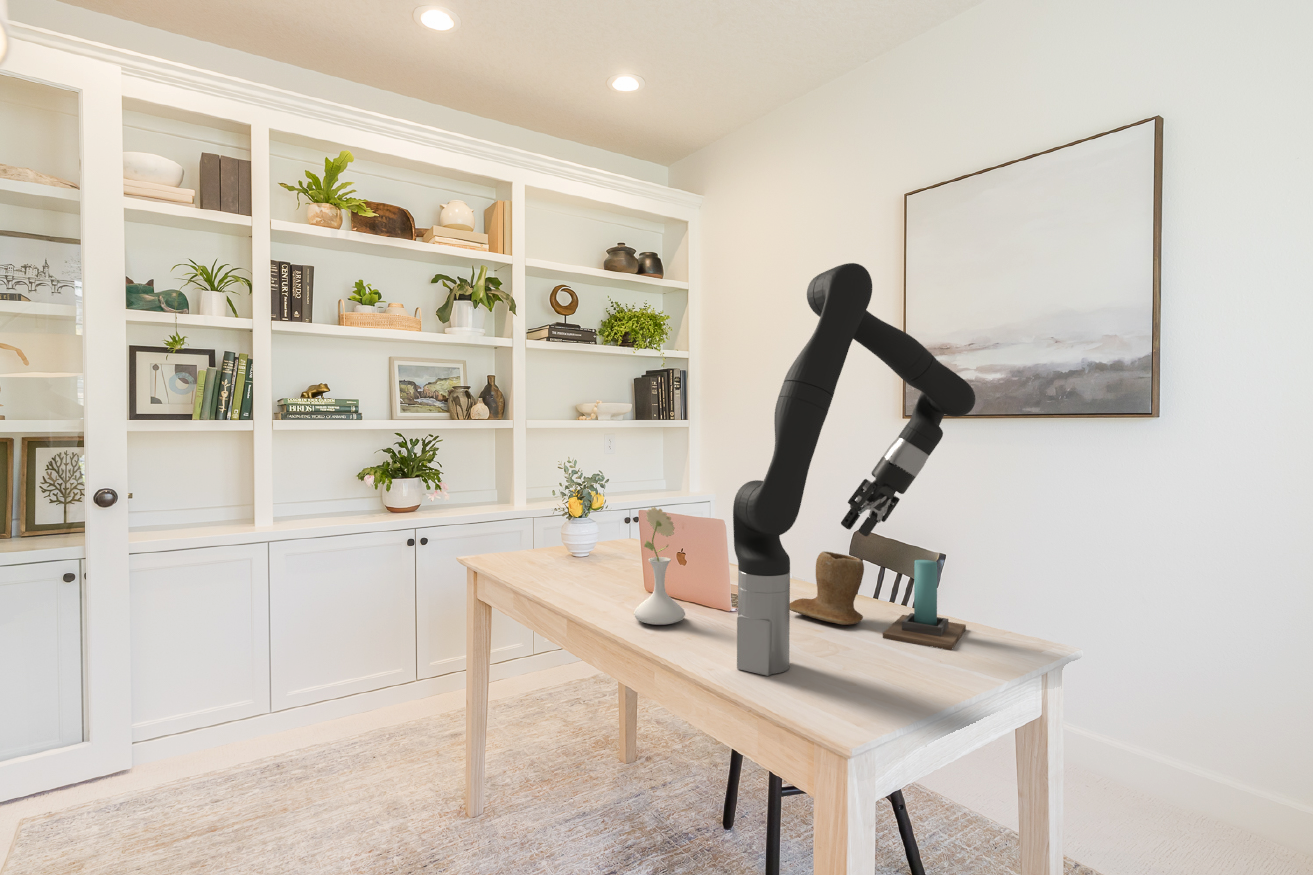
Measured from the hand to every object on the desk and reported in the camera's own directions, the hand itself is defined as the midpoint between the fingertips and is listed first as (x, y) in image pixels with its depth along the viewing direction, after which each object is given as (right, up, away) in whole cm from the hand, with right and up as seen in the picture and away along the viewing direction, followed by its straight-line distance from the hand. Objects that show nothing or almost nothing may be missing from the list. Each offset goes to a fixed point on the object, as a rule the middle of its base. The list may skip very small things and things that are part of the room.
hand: (853, 530), depth 136 cm
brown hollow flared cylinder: (-1, -22, +13) cm, 25 cm away
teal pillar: (+16, -21, +2) cm, 26 cm away
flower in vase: (-40, -22, +11) cm, 47 cm away
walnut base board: (+16, -22, +3) cm, 27 cm away
